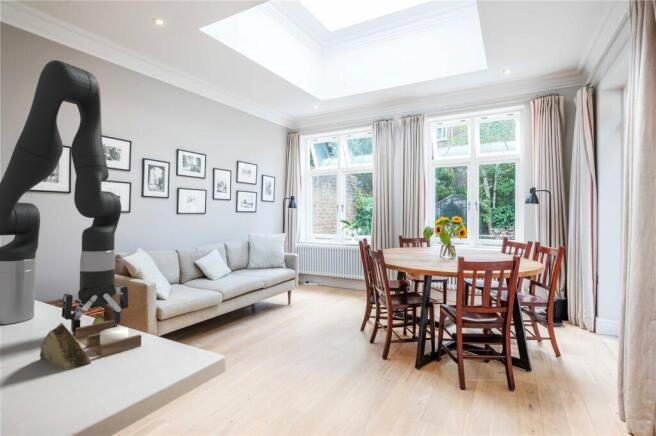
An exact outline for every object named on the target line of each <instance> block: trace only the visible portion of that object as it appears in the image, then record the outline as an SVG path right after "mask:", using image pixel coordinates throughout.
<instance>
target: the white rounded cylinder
mask: <svg viewBox="0 0 656 436" xmlns="http://www.w3.org/2000/svg"><path fill="white" fill-rule="evenodd" d="M129 329H130V328H128V327H126V326H119V327H118V326H114V328H110V329H106V330H103V331H101V332H100V347H101V344H104V343H108V342H112V341H116V340H120V339H124V338H128V337H130V336H129V335H130V334H129Z"/></svg>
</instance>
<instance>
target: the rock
mask: <svg viewBox="0 0 656 436" xmlns="http://www.w3.org/2000/svg"><path fill="white" fill-rule="evenodd" d="M39 357H40V358H39V359H40V360H41V361H45V362H47V363H50V364H53V365H55V366H58V367H60V368H62V369H64V370H71V369H77V368H81V367H84V366H88V365H91V364H92V363H91V362H92V361H91V358H90V357H89V355H88V354H87V352H86V351H85V349H84V348H83V344H82V343H81V342H79V341H78V340H77V339H76V338H75V336H74V335H73V334H72V331H71V330H69V329H68V328H67V327H66V325H65V324H64V323H63V322H60V323H59V324H58V325H57V326H56V327H54V328H53V329H52V330H50V331H49V332H48V333H47V335H46V336H44V338H43V340H42V343H41V346H40V352H39Z"/></svg>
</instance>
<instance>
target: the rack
mask: <svg viewBox="0 0 656 436" xmlns="http://www.w3.org/2000/svg"><path fill="white" fill-rule="evenodd" d="M110 328H115V326H114V321H113V320H112V319H111V320H106V322H102V323H97V324H93V323H92V324H90V325H83V326H80V327H78V328H75V334H74V335H75V336H74V337H75V338H76V339H77V340H78V341H79V342H80V344H81V345H83V346H85V347H86V348H88V349H89V350H91V351H92V352H94V353H95V354H97V355H98V356H99V357H100V358H105V357H108V356H112V355H115V354H119V353H122V352H126V351H129V350H133V349H136V348H140V347H142V334H136V335H133V336H129V337H128V338H124V339H120V340H116V341H112V342H108V343H104V344H101V347H100V332H101V331H103V330H106V329H110Z"/></svg>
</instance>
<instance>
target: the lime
mask: <svg viewBox="0 0 656 436" xmlns="http://www.w3.org/2000/svg"><path fill="white" fill-rule="evenodd" d="M106 321H107V319H106V317H105V316H104V315H103V314H100V313H97V314H96V315H95V317H94V320H93V322H92V324H97V323H102V322H106Z"/></svg>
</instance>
